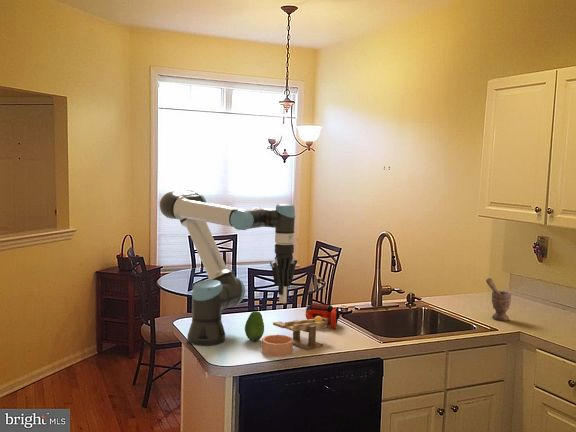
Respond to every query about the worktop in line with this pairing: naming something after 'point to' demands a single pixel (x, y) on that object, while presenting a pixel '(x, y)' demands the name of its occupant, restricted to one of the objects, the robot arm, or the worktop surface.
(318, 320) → the ball
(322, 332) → the worktop surface
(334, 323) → the power drill
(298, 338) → the stand
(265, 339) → the terracotta bowl
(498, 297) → the mortar and pestle
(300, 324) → the lever
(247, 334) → the fruit
